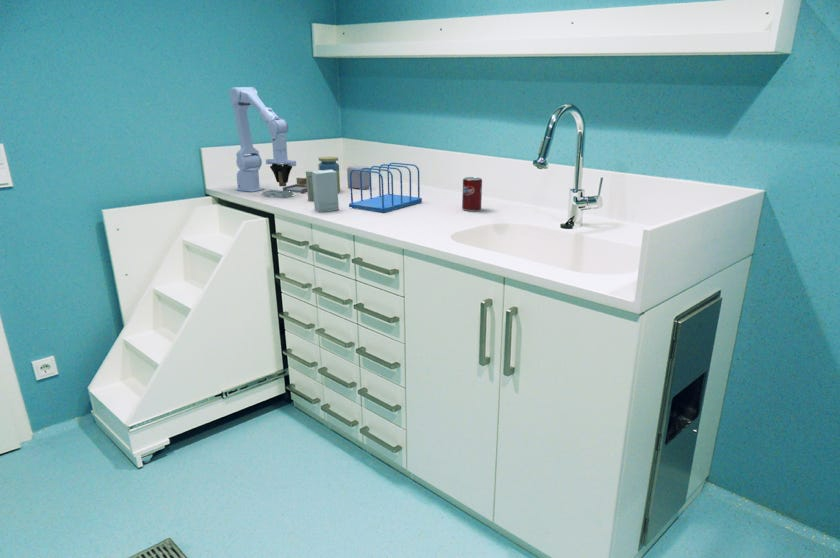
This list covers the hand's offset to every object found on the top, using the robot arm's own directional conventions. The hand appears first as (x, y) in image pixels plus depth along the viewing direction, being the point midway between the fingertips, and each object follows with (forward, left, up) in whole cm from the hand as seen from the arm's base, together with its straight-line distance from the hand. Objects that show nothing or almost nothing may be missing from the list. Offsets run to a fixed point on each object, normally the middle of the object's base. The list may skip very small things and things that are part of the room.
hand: (282, 182), depth 248 cm
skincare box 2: (+33, -15, -6) cm, 37 cm away
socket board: (-3, 0, -6) cm, 7 cm away
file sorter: (+48, +4, -6) cm, 49 cm away
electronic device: (+18, +31, -6) cm, 36 cm away
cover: (-2, +22, -4) cm, 23 cm away
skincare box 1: (+18, -1, -6) cm, 19 cm away
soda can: (+82, +11, -6) cm, 83 cm away
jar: (+12, +17, -6) cm, 22 cm away
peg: (0, 0, -2) cm, 2 cm away
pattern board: (-2, +19, -6) cm, 20 cm away
